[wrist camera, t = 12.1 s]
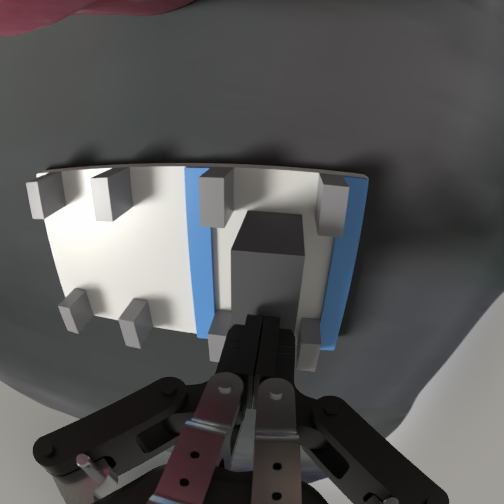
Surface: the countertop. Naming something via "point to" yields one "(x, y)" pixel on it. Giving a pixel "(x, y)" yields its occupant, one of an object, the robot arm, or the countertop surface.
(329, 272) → the white pegged board
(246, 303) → the charcoal rectangular prism
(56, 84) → the countertop surface
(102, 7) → the plant pot
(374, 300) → the countertop surface
